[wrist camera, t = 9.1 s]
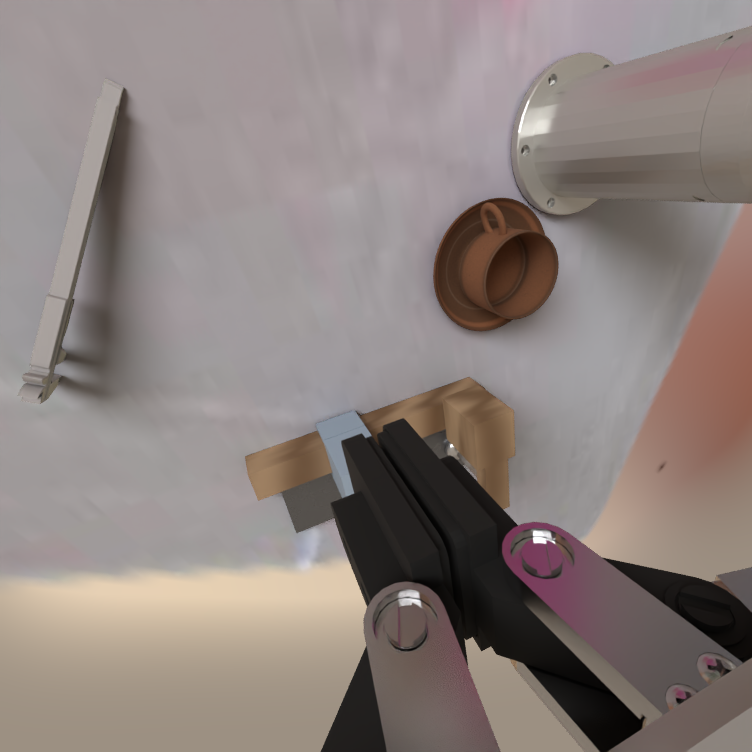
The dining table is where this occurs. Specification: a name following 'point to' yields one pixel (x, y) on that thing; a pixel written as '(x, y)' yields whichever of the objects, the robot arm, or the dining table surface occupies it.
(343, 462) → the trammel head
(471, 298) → the cup and saucer
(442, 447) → the bolt plate
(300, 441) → the beam
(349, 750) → the robot arm
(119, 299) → the dining table surface
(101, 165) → the caliper
